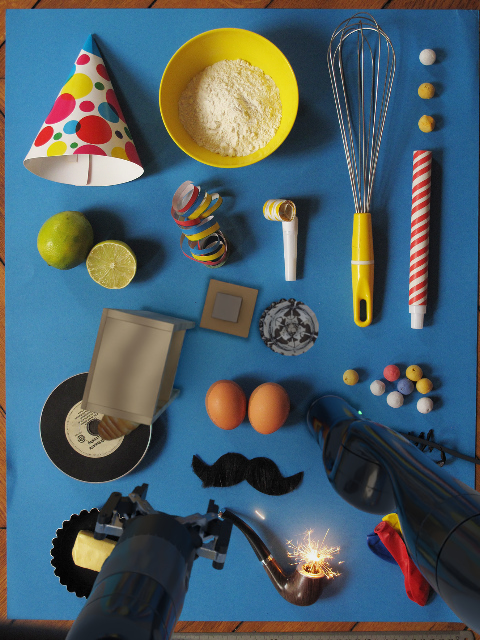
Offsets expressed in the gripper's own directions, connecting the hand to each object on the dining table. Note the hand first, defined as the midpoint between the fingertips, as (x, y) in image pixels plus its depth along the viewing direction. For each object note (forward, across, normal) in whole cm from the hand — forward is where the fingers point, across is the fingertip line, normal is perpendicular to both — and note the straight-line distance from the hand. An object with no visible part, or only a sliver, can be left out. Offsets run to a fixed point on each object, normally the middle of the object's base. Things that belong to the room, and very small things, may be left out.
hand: (177, 498), depth 53 cm
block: (+33, -1, +25) cm, 41 cm away
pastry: (+33, -17, -2) cm, 37 cm away
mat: (+33, -1, +25) cm, 41 cm away
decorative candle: (+33, +10, +24) cm, 42 cm away
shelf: (+33, -12, +13) cm, 38 cm away
